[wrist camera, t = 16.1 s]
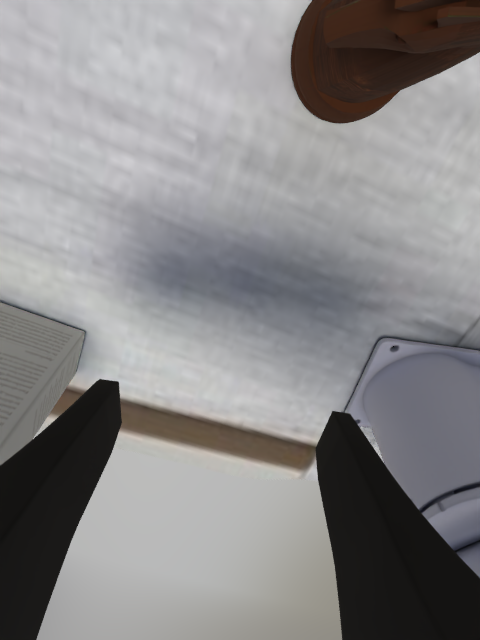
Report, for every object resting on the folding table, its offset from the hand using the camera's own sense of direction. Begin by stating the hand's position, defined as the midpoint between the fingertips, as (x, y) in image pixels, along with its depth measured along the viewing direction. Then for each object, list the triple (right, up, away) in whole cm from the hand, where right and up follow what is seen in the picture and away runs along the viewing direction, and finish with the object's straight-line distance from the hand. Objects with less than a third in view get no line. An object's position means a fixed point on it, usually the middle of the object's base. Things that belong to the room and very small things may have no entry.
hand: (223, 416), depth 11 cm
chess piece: (+5, +14, +2) cm, 15 cm away
